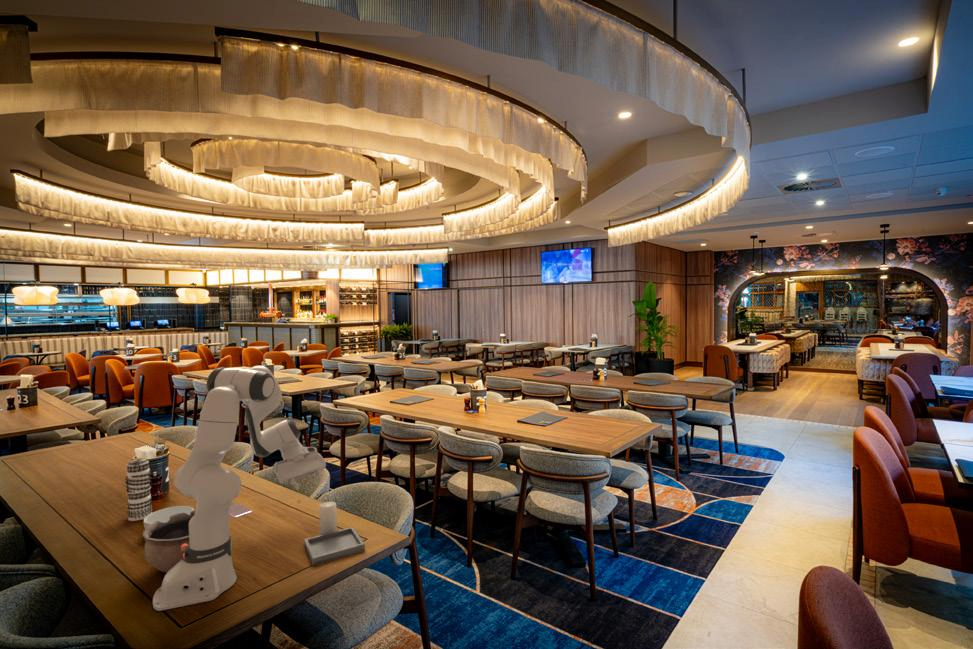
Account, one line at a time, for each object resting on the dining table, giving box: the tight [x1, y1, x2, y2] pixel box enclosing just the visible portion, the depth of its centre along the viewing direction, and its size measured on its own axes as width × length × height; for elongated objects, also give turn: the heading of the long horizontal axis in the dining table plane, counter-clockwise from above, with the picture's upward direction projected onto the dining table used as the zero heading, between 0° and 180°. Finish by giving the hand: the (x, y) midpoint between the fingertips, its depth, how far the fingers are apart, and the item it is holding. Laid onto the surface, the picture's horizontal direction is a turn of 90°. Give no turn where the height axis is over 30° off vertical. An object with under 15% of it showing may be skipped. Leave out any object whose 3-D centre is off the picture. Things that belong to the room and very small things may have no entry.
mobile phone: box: [229, 502, 253, 519], centre depth 206 cm, size 8×1×15 cm
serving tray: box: [303, 526, 366, 566], centre depth 171 cm, size 18×16×2 cm
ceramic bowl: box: [142, 510, 196, 573], centre depth 161 cm, size 22×22×15 cm
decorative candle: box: [124, 457, 153, 522], centre depth 201 cm, size 9×9×25 cm
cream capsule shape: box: [318, 501, 338, 535], centre depth 183 cm, size 6×6×11 cm
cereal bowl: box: [143, 505, 195, 530], centre depth 187 cm, size 17×17×7 cm
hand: (309, 484), depth 191 cm, fingers open, 8 cm apart
